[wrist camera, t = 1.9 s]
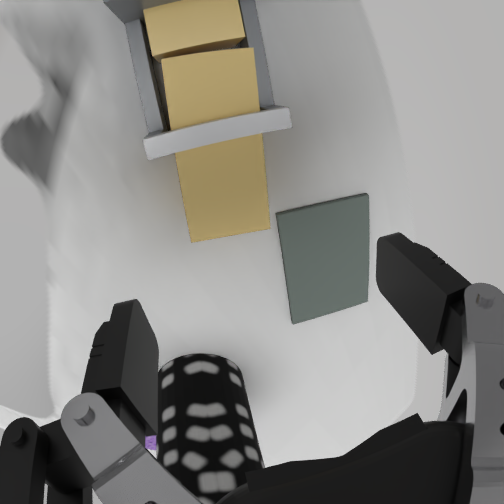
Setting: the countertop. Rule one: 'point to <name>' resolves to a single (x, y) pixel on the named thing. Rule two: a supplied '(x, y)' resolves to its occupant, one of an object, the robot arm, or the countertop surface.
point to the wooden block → (218, 143)
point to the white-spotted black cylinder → (206, 426)
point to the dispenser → (190, 42)
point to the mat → (325, 256)
